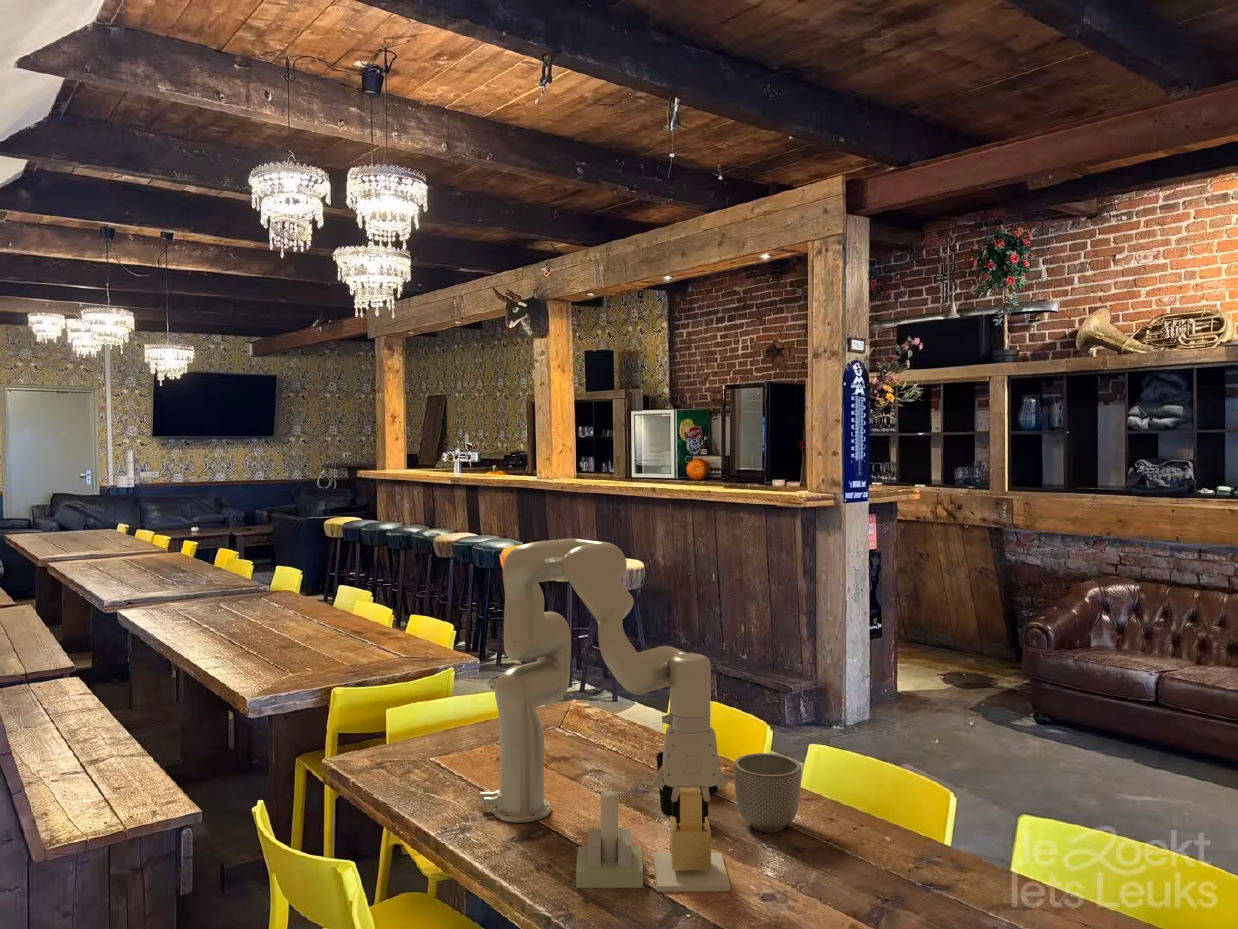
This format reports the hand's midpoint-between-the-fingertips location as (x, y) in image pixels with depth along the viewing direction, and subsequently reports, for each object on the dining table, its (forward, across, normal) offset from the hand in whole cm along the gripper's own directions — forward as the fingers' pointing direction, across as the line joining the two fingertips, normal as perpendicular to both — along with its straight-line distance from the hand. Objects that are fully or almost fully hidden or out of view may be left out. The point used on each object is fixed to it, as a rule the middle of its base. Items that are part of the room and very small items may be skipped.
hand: (690, 819), depth 166 cm
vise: (+10, -15, 0) cm, 18 cm away
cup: (+10, -1, +29) cm, 31 cm away
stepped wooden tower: (+8, 0, 0) cm, 8 cm away
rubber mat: (+10, 0, 0) cm, 10 cm away
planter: (+10, +18, +21) cm, 30 cm away
